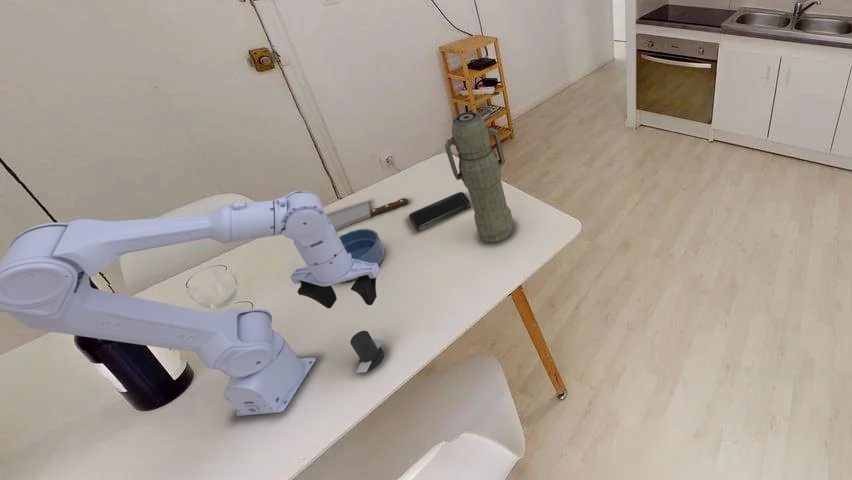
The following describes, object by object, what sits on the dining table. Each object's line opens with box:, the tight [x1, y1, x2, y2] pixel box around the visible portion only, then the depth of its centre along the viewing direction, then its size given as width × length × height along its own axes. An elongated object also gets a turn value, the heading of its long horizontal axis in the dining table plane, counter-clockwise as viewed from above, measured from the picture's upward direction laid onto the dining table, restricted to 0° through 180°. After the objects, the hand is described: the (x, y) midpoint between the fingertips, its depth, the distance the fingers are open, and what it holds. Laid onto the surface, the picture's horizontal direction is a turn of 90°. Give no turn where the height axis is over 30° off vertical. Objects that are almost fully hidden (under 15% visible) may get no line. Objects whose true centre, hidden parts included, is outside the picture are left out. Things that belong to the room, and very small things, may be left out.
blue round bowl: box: [339, 228, 386, 283], centre depth 99 cm, size 12×12×6 cm
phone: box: [408, 191, 472, 232], centre depth 115 cm, size 8×1×15 cm
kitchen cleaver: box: [327, 197, 409, 232], centre depth 115 cm, size 24×1×10 cm
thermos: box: [444, 111, 515, 245], centre depth 100 cm, size 9×12×35 cm
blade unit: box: [349, 330, 385, 374], centre depth 77 cm, size 6×4×7 cm, turn 3°
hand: (352, 302), depth 79 cm, fingers open, 7 cm apart
